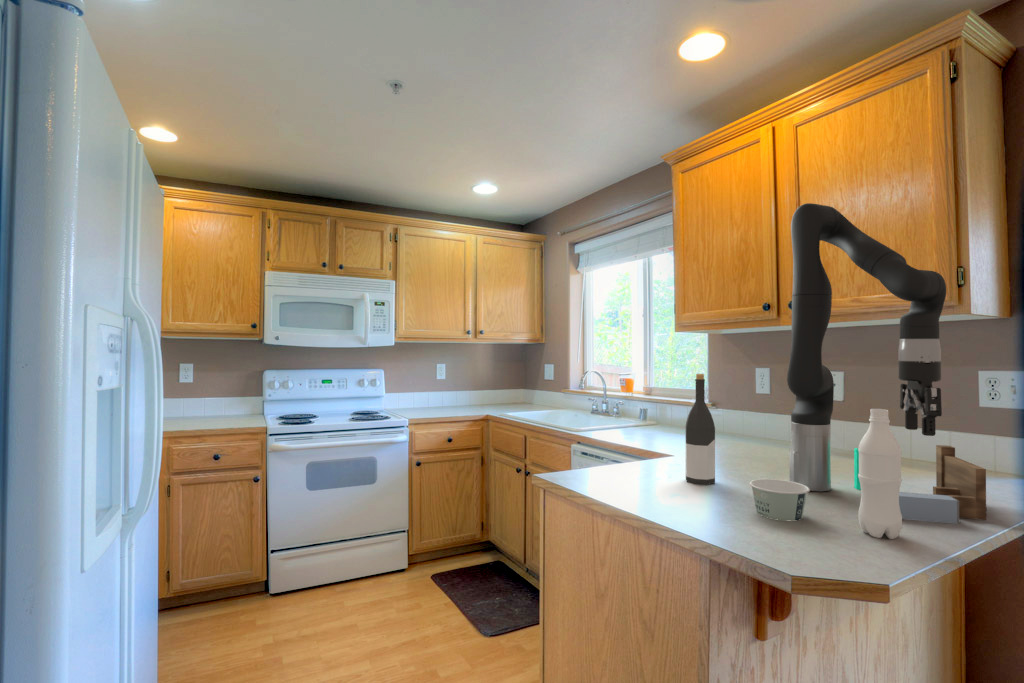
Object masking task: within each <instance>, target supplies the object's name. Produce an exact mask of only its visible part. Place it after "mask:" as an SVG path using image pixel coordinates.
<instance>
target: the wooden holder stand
mask: <svg viewBox="0 0 1024 683" xmlns="http://www.w3.org/2000/svg"><path fill="white" fill-rule="evenodd" d="M935 449H936V450H935V457H936V458H935V463H936V466H935V467H936V468H935V470H936V474H935V475H936V476H935V477H936V478H935V480H936V481H935V482H936V484H935V485H936V486H935V485H934V486H932V494H934V495H947V496H951V497H953V498H955V499H956V500H958V501H959V519H962V518H963V519H970V520H971V519H972V520H974V519H975V520H983V521H987V468H984V467H982V466H979V465H976V464H974V463H972V462H969V461H967V460H963V459H962V458H959V457H957V456H956V447H954V446H952V445H941V444H940V445H939V444H936V445H935Z"/></svg>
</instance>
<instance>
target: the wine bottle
mask: <svg viewBox="0 0 1024 683" xmlns="http://www.w3.org/2000/svg"><path fill="white" fill-rule="evenodd" d="M694 380H695V381H694V382H695V402H694V403H693V405H692V407H691V409H690V411H689V413H688V415H687V418H686V422H685V480H686V482H687V484H692V485H696V486H710V485H715V484H716V427H715V423H714V419H713V416H712V413H711V411H710V410H709V408H708V405H707V403H706V401H705V398H706V397H705V393H706V392H705V391H706V390H705V381H706V380H705V374H704V373H696V374H695V379H694Z"/></svg>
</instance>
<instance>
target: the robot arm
mask: <svg viewBox="0 0 1024 683" xmlns="http://www.w3.org/2000/svg"><path fill="white" fill-rule="evenodd" d="M790 234H791V236H790V237H791V246H792V247H791V248H792V293H791V296H792V297H791V345H790V346H791V347H790V353H789V354H790V355H789V361H788V368H787V374H786V376H787V377H786V383H787V386H788V389H789V390H790V392H791V393H792V394H793V395H794V396H796V397H795V403H794V404H795V405H794V407H793V409H792V411H791V413H790V424H791V425H790V426H791V429H790V434H791V436H790V439H791V440H790V448H789V481H791V482H796V483H799V484H802V485H805V486H807V487H808V488H809V489H810V491H809V492H811V491H813V492H828V491H830V490H831V489H832V478H831V477H832V473H831V471H832V469H831V468H832V466H831V465H832V464H831V463H832V462H831V458H832V457H831V456H832V455H831V453H832V452H831V451H832V450H831V448H832V447H831V442H832V441H831V432H832V431H831V430H832V429H831V420H832V419H831V418H832V415H833V411H834V395H835V394H834V392H835V391H834V390H835V389H834V388H835V386H834V384H835V383H834V382H835V381H834V378H833V374H832V372H831V371H830V369H829V368H828V367H827V366H826V365H824V364H823V362H822V358H823V357H822V350H823V348H822V347H823V341H824V339H825V338H824V337H825V335H826V332H827V330H828V325H829V323H830V319H831V314H832V301H833V300H832V299H833V291H832V290H833V289H832V285H831V282H830V279H829V277H828V274H827V272H826V269H825V267H824V265H823V263H822V260H821V253H820V245H821V241H822V242H825V243H828V244H830V245H832V246H835V247H837V248H839V249H840V250H842V251H843V252H844V253H845V254H846V255H847V256H848V257H849V259H850V260H851V261H852V262H853V264H855V265H856V266H857V267H858V268H860V269H861V270H863V271H864V272H865V273H867V274H868V275H870V276H872V277H873V278H875V279H877V280H878V281H879V282H880V283H881V285H883V287H884V288H886V290H887V291H889V293H891V294H892V295H894V296H895V297H897V298H899V299H901V300H903V301H907V302H910V307H909V311H908V312H907V313H905V314H903V315H901V316H900V319H899V344H898V350H897V351H898V356H897V357H898V379H899V380H900V381H904V382H905V381H906V383H901V384H900V391H899V393H900V395H899V396H900V397H899V404H900V405H899V408H900V410H903V413H904V428H905V430H912V431H916V430H918V428H919V426H918V424H919V423H918V420H919V419H918V416H919V414H918V412H919V411H920V414H921V434H922V435H923V436H926V437H934V436H935V435H936V419H937V418H938V417H942V414H943V413H942V390H941V387H933V382H935V383H937V382H940V381H941V380H942V347H941V342H940V317H941V315H942V311H943V309H944V304H945V301H946V296H947V283H946V282H945V278H944V277H943V275H941V273H938V272H937V271H933V270H925V269H918V268H915V267H913V266H911V265H909V263H907V260H906V258H905V257H904V256H903V255H901V253H899V252H897V251H895V250H894V249H892V248H890V247H889V246H887V245H885V244H883V243H881V241H878V240H876V239H875V238H873V237H871V236H870V235H868V234H866V233H865V232H864V231H862V230H861V229H859V228H858V227H857V226H856V225H855V224H854V223H852V222H851V221H850V220H849V219H848V218H847V217H846V216H844V215H843V213H841V212H840V211H839V210H838V209H837V208H835V207H833V206H830V205H823V204H819V203H809V202H808V203H803V204H801V205H800V206H799V207H797V208H796V209H795V211H794V213H793V214H792V218H791V222H790Z"/></svg>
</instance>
